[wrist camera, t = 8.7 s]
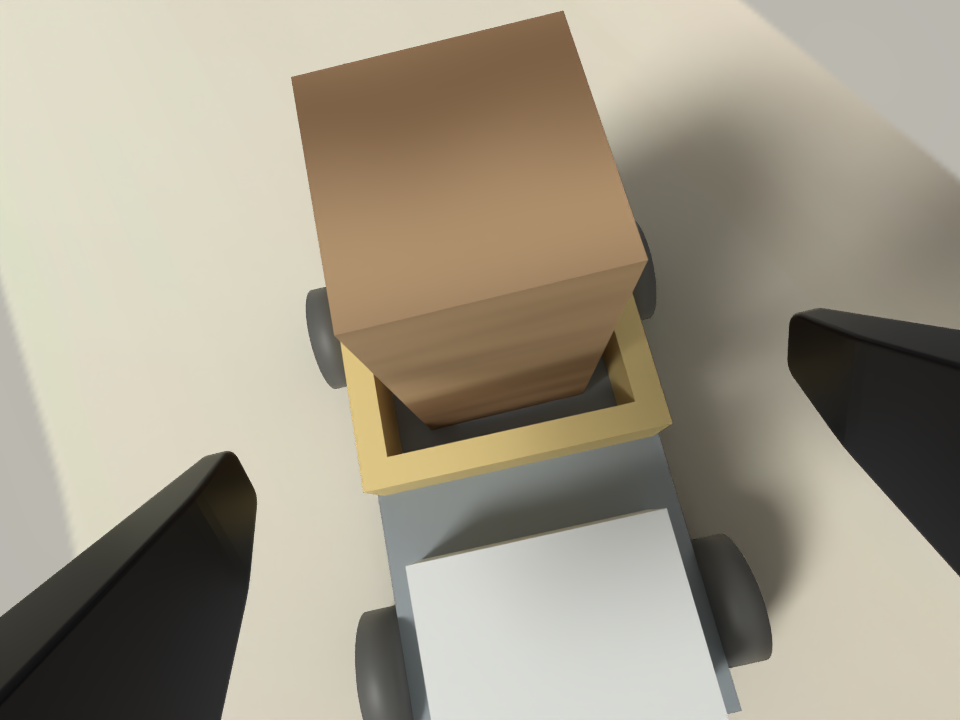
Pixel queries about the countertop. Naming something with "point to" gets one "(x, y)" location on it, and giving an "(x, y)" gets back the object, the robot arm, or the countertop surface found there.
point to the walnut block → (469, 218)
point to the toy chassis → (543, 554)
